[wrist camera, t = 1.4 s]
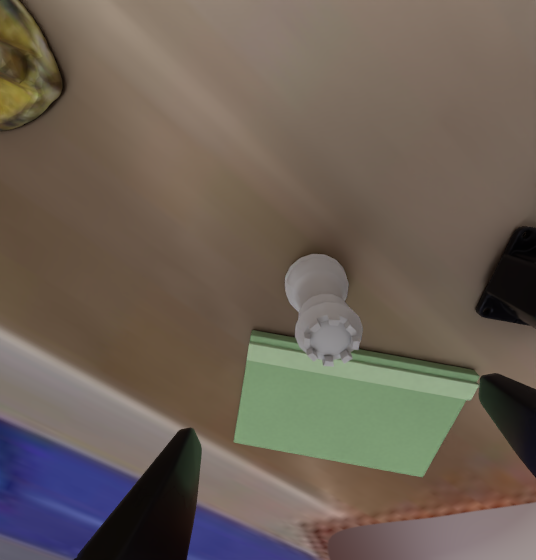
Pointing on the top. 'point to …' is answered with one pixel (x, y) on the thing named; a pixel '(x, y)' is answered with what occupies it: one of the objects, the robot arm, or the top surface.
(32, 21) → the olive lumpy piece
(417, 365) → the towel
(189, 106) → the top surface
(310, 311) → the rook chess piece
